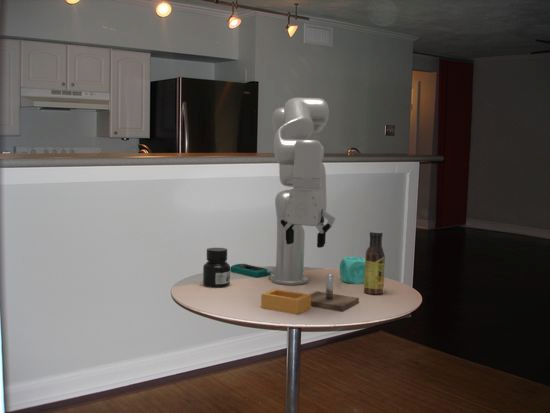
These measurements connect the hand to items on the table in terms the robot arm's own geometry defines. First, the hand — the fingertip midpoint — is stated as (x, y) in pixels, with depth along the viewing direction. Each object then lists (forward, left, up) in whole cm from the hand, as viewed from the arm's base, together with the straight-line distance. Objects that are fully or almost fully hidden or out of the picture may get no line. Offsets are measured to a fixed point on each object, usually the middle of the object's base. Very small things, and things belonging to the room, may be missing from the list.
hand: (305, 245), depth 169 cm
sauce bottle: (+9, +33, -19) cm, 39 cm away
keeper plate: (+3, +12, -19) cm, 22 cm away
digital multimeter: (-39, +34, -20) cm, 55 cm away
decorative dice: (-3, +45, -19) cm, 49 cm away
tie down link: (-5, 0, -19) cm, 20 cm away
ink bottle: (-39, +12, -19) cm, 44 cm away
